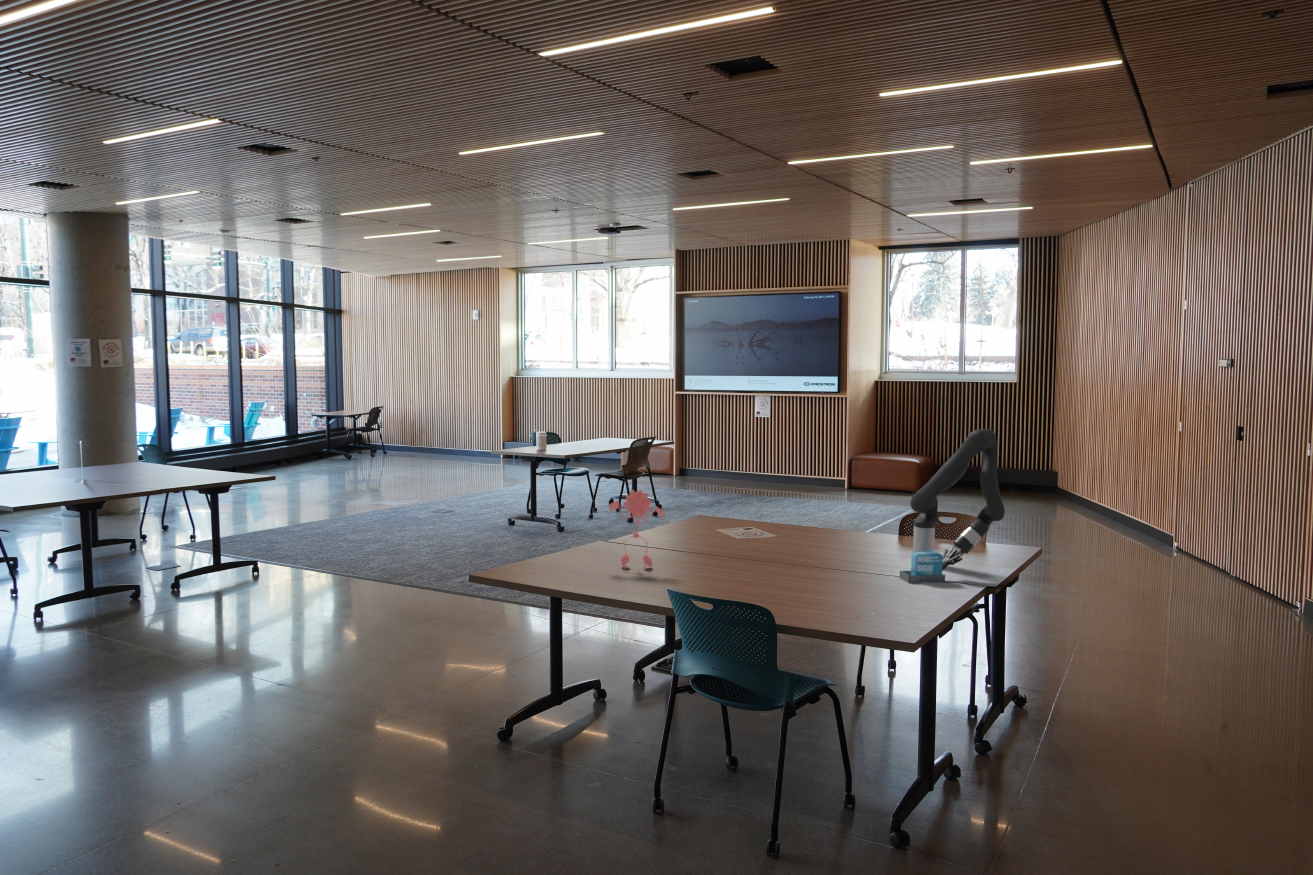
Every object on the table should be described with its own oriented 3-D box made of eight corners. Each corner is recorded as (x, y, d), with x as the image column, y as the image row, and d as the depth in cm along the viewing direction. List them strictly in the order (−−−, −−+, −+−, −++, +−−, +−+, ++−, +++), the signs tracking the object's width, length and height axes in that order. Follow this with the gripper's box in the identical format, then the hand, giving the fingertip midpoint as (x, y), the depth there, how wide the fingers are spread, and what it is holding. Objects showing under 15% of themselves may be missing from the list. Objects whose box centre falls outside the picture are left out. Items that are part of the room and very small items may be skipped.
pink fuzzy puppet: (663, 571, 396) (663, 492, 394) (606, 568, 401) (606, 490, 399) (668, 564, 411) (669, 488, 410) (614, 562, 416) (614, 487, 414)
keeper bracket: (899, 577, 385) (899, 570, 385) (935, 576, 387) (935, 569, 387) (908, 583, 376) (909, 575, 375) (945, 581, 378) (945, 574, 378)
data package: (914, 582, 377) (915, 554, 376) (910, 579, 382) (911, 551, 380) (942, 581, 379) (943, 553, 377) (937, 578, 383) (938, 551, 382)
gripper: (954, 531, 389) (926, 560, 388) (969, 537, 376) (940, 566, 375) (965, 543, 390) (938, 571, 389) (980, 549, 377) (952, 579, 376)
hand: (939, 569), depth 382 cm, fingers closed
